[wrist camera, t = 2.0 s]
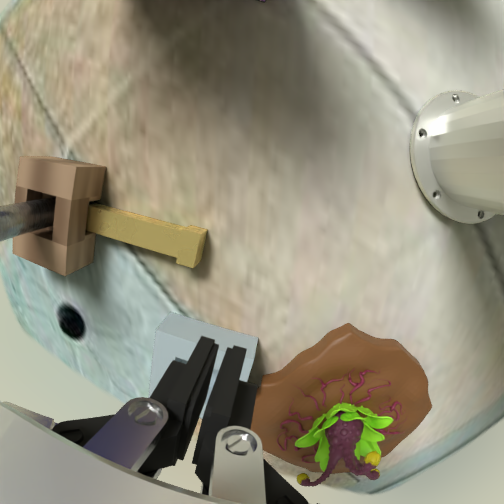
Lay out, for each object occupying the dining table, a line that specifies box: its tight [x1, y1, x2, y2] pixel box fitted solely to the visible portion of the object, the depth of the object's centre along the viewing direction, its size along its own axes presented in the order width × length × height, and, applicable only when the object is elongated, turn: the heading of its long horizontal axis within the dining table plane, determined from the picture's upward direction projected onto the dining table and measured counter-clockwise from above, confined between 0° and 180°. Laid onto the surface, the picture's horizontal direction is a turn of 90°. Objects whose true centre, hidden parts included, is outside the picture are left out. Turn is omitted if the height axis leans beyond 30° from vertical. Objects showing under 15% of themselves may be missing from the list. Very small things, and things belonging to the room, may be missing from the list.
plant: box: [250, 323, 432, 486], centre depth 26 cm, size 20×20×11 cm
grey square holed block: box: [148, 312, 258, 419], centre depth 30 cm, size 9×9×4 cm
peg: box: [0, 197, 56, 241], centre depth 21 cm, size 3×3×13 cm
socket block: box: [13, 156, 106, 276], centre depth 27 cm, size 8×10×5 cm
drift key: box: [86, 203, 207, 268], centre depth 28 cm, size 12×3×2 cm, turn 76°
